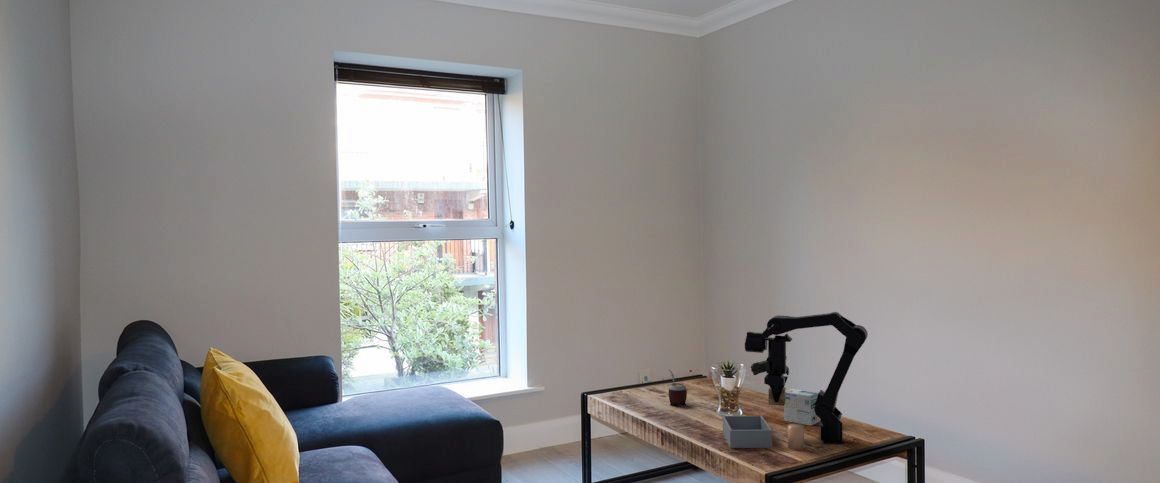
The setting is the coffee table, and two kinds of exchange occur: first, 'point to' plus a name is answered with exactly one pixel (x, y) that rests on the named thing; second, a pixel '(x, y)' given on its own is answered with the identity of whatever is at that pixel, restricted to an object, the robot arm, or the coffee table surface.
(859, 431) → the coffee table surface
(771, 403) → the walnut cube
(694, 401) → the coffee table surface
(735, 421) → the box
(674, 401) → the mate gourd
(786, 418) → the light bulb box
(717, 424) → the coffee table surface
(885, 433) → the coffee table surface
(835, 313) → the robot arm
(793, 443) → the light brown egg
